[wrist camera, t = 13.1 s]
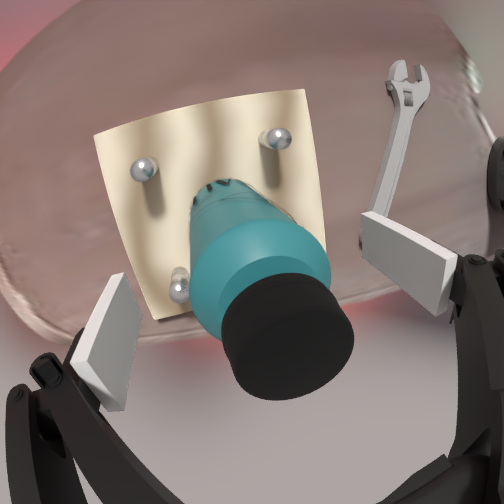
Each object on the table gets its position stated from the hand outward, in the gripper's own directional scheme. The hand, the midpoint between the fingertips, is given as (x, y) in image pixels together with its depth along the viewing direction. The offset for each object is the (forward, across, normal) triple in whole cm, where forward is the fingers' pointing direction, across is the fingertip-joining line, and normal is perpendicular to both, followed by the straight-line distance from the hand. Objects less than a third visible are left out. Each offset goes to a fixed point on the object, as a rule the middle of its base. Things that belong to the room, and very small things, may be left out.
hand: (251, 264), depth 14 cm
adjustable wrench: (+15, -20, -4) cm, 26 cm away
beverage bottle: (+13, 0, 0) cm, 13 cm away
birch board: (+14, 0, 0) cm, 14 cm away
